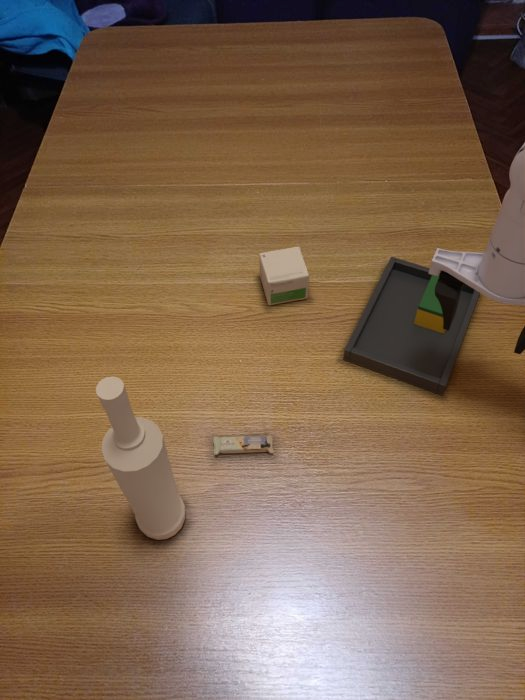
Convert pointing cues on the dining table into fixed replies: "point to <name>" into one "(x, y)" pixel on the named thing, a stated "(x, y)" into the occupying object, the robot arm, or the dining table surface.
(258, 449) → the granola bar
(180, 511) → the bottle
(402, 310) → the tray
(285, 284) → the small box
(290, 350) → the dining table surface
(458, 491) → the dining table surface
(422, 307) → the sponge
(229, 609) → the dining table surface
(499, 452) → the dining table surface
